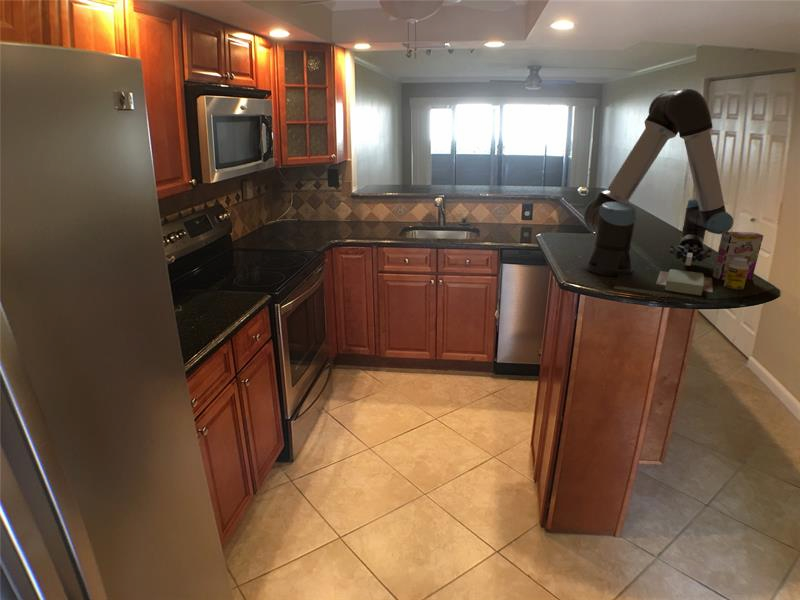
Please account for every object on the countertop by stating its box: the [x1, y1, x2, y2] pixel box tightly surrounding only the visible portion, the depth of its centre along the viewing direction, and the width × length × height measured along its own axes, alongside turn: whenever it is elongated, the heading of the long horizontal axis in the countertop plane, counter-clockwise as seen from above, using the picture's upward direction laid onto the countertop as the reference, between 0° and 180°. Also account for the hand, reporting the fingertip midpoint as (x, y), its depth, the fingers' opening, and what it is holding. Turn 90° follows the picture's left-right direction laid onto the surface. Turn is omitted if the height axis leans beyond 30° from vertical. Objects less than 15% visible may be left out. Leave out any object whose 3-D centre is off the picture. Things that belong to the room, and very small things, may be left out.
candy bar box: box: [712, 231, 764, 281], centre depth 180 cm, size 11×5×16 cm, turn 92°
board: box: [655, 270, 714, 293], centre depth 177 cm, size 16×18×1 cm
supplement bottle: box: [723, 258, 749, 291], centre depth 170 cm, size 6×6×10 cm
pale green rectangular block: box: [664, 268, 705, 296], centre depth 171 cm, size 10×3×16 cm
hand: (688, 261), depth 172 cm, fingers closed
